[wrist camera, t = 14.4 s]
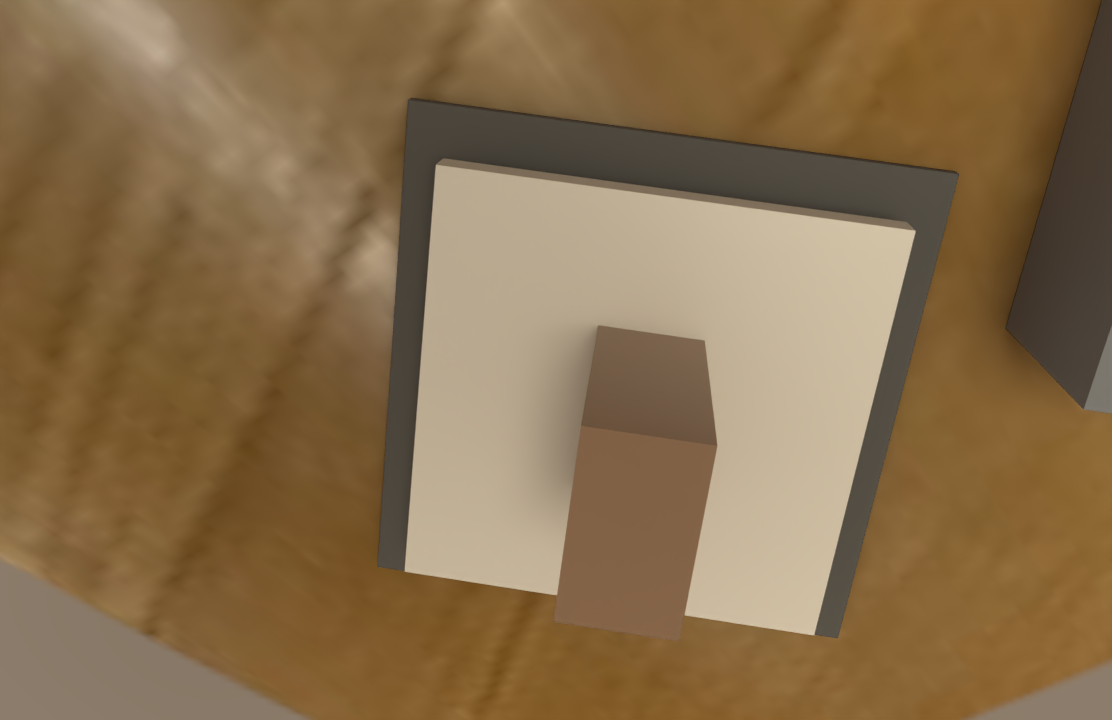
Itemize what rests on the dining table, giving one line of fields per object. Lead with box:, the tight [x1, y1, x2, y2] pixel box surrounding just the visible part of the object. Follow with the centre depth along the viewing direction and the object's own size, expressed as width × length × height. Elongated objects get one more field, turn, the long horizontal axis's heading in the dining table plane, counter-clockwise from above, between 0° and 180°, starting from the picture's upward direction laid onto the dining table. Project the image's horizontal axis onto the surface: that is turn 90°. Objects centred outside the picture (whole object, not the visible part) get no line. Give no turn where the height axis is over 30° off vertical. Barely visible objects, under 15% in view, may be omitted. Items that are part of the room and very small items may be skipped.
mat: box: [378, 98, 959, 638], centre depth 37 cm, size 18×18×1 cm
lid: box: [405, 158, 916, 641], centre depth 32 cm, size 15×15×10 cm
